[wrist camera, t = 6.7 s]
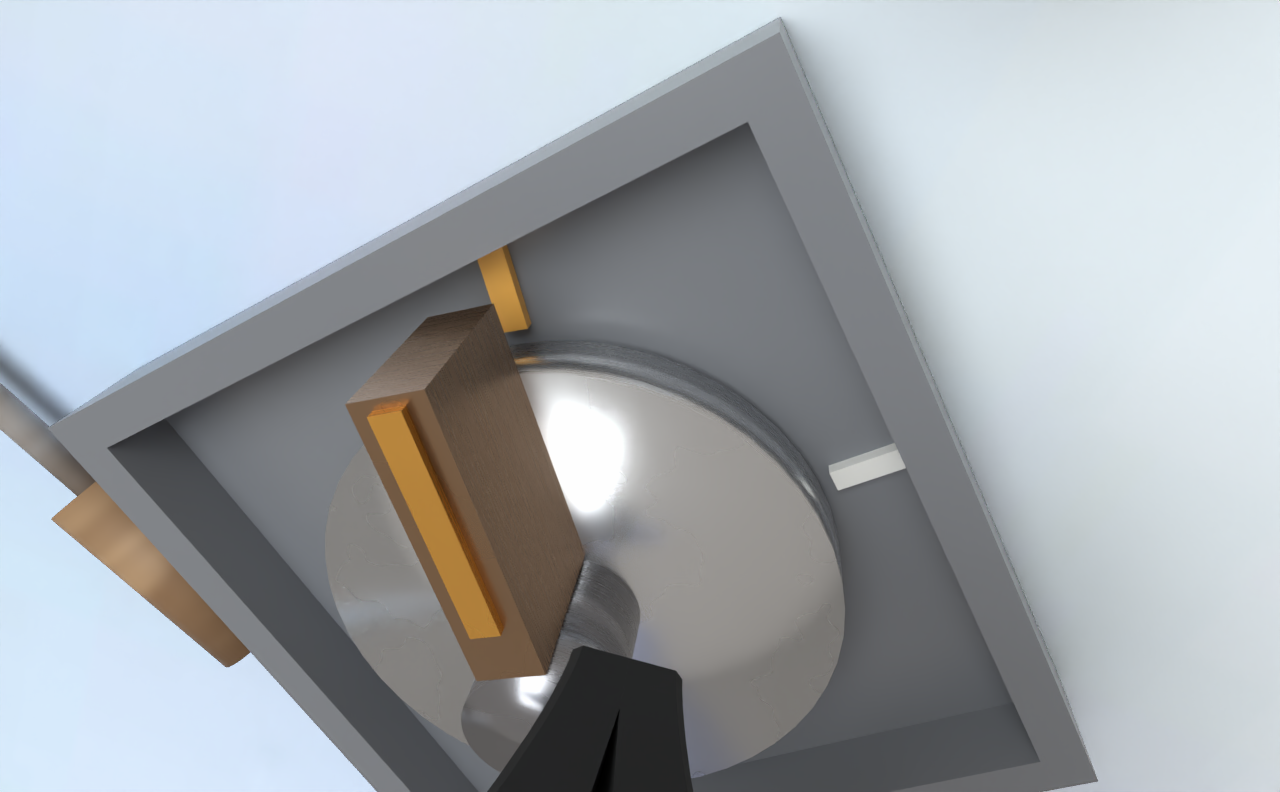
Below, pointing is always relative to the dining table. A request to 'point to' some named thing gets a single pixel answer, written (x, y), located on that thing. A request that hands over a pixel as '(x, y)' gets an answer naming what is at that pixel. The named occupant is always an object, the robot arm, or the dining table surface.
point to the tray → (649, 322)
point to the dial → (579, 538)
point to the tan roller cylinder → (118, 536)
